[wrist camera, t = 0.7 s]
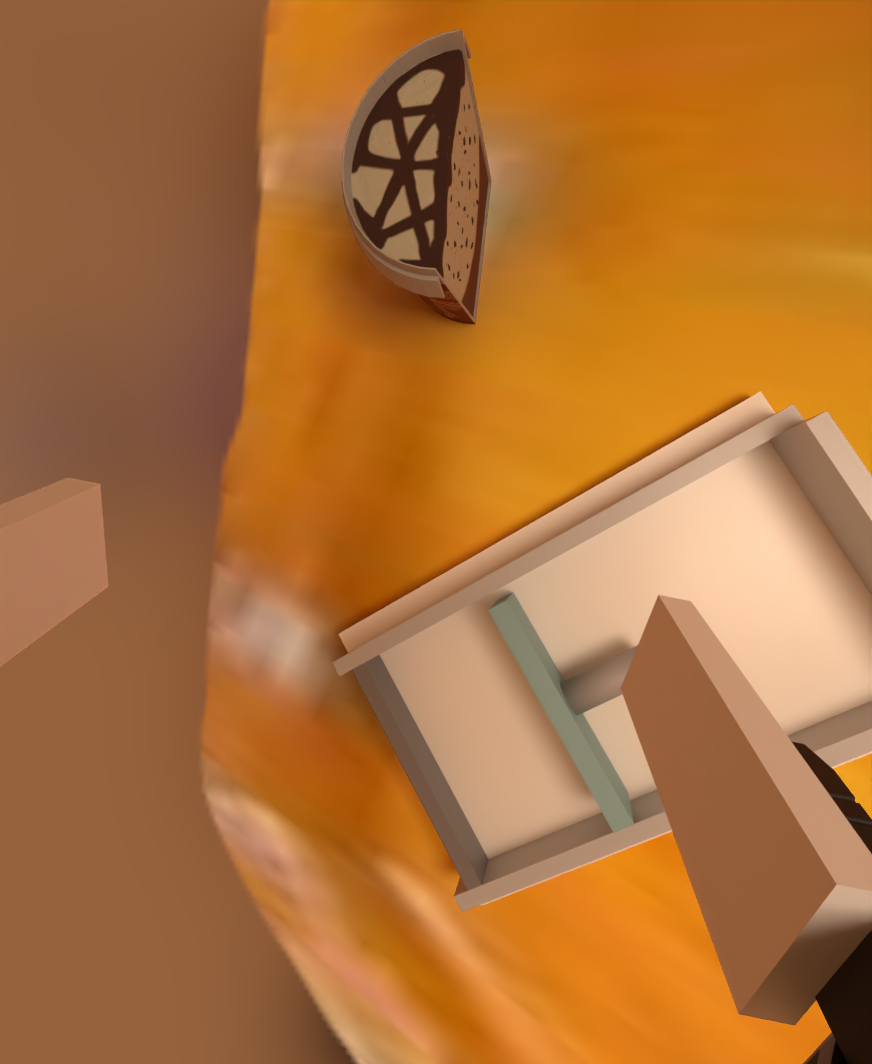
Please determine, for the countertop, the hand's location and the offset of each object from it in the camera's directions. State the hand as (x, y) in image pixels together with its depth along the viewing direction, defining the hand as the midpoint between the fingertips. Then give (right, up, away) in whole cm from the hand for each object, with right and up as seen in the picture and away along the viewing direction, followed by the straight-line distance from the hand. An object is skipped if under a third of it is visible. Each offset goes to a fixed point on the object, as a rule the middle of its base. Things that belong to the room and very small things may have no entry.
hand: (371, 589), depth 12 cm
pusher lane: (+13, -7, +21) cm, 25 cm away
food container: (+2, +20, +23) cm, 31 cm away
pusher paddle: (+11, -7, +19) cm, 23 cm away
